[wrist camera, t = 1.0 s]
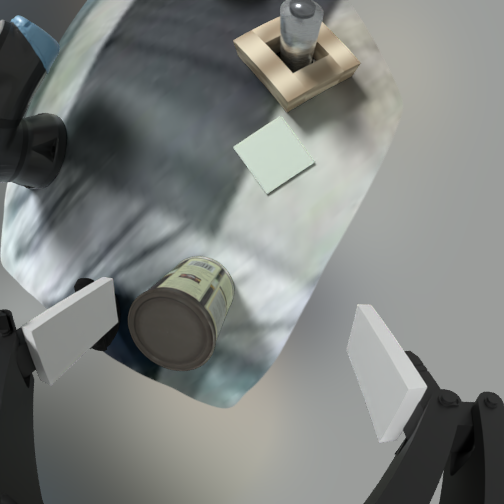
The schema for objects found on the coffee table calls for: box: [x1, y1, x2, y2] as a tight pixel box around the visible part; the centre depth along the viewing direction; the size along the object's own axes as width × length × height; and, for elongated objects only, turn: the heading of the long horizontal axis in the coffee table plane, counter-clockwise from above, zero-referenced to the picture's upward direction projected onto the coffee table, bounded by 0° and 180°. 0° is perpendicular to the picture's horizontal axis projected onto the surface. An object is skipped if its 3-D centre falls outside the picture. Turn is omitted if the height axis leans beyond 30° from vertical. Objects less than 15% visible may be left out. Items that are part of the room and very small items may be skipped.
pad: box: [233, 116, 315, 194], centre depth 35 cm, size 8×8×1 cm
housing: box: [233, 17, 360, 112], centre depth 29 cm, size 12×12×5 cm
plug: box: [280, 0, 324, 73], centre depth 25 cm, size 4×4×15 cm
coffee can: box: [128, 256, 234, 371], centre depth 34 cm, size 10×10×14 cm
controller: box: [74, 278, 120, 351], centre depth 38 cm, size 4×12×10 cm, turn 3°
